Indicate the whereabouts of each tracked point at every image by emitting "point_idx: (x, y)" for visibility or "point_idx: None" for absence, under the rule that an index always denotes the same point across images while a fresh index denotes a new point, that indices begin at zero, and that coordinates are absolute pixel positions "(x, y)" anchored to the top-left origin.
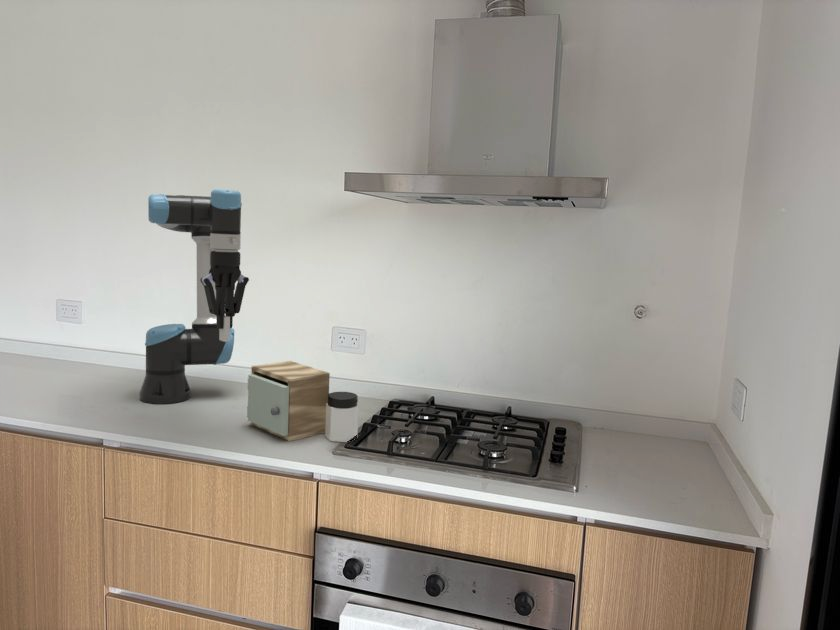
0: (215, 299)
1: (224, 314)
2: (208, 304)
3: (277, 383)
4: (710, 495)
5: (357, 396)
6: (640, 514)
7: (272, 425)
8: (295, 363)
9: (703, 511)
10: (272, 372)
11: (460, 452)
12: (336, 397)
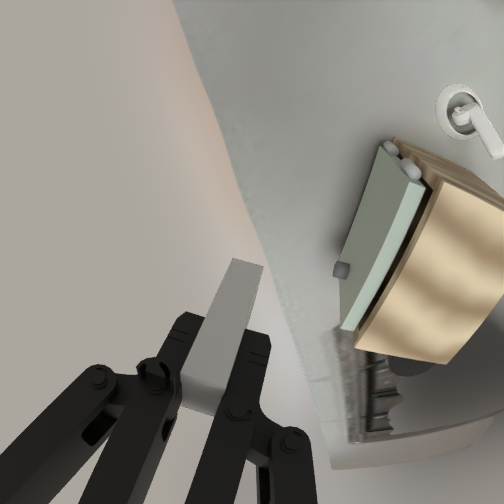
0: (72, 474)
1: (174, 418)
2: (49, 412)
3: (367, 300)
4: (376, 463)
5: (420, 373)
6: (332, 456)
7: (350, 237)
8: None
9: (352, 464)
10: (397, 285)
11: (402, 398)
12: (396, 362)
